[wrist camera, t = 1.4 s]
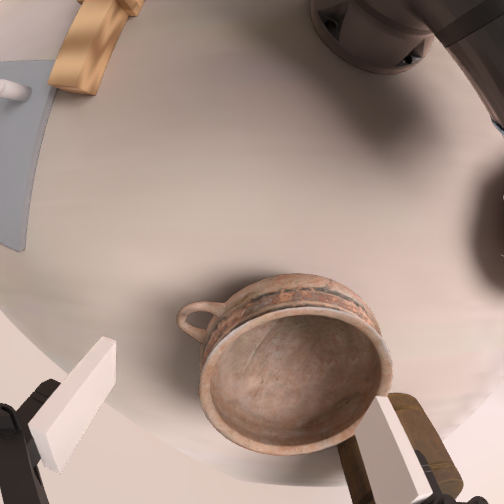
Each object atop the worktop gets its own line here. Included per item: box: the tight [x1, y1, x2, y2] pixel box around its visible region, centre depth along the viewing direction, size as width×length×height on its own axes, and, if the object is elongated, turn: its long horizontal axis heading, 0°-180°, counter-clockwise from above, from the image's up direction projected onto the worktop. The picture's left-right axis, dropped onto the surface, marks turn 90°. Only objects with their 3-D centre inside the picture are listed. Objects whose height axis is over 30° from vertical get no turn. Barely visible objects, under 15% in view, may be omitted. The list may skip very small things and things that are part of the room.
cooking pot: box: [176, 273, 393, 456], centre depth 31 cm, size 25×19×12 cm
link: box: [47, 0, 145, 96], centre depth 26 cm, size 18×7×5 cm, turn 163°
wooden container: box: [337, 393, 463, 504], centre depth 30 cm, size 15×15×22 cm
